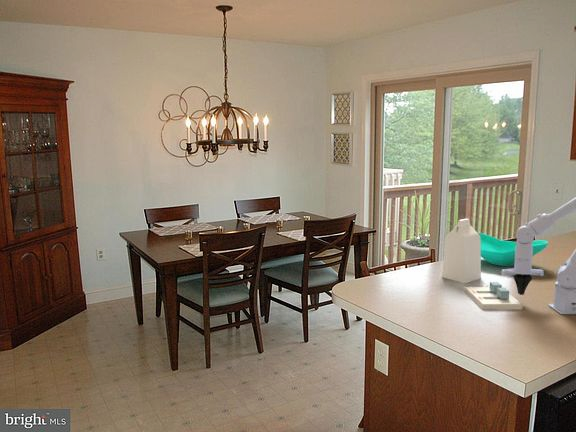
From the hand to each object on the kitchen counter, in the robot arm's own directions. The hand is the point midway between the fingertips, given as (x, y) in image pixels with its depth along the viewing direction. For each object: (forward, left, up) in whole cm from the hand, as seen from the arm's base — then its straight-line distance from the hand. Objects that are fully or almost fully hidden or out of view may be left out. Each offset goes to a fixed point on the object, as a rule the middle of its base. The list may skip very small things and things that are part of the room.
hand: (520, 294), depth 182 cm
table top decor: (+55, -15, -4) cm, 58 cm away
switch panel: (+3, +9, -4) cm, 10 cm away
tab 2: (0, +7, -1) cm, 7 cm away
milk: (+33, +11, -4) cm, 36 cm away
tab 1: (+7, +7, -1) cm, 10 cm away
